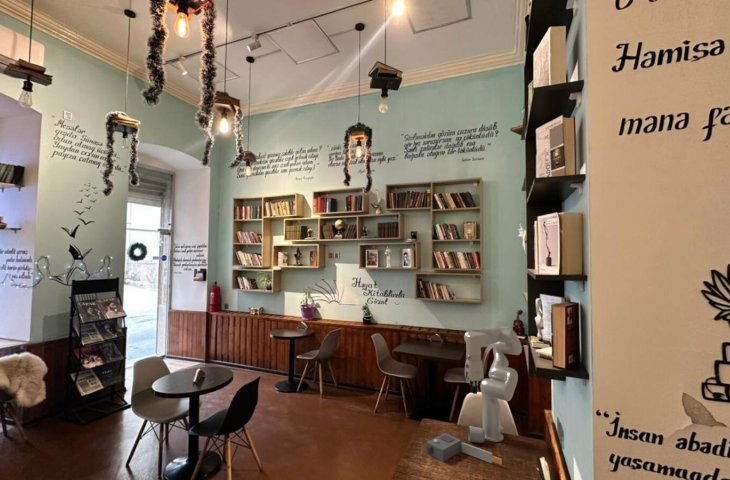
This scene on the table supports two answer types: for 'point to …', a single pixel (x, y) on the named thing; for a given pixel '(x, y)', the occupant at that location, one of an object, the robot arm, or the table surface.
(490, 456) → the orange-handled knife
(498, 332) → the robot arm
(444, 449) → the grey control box
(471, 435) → the ceramic mug
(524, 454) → the table surface
